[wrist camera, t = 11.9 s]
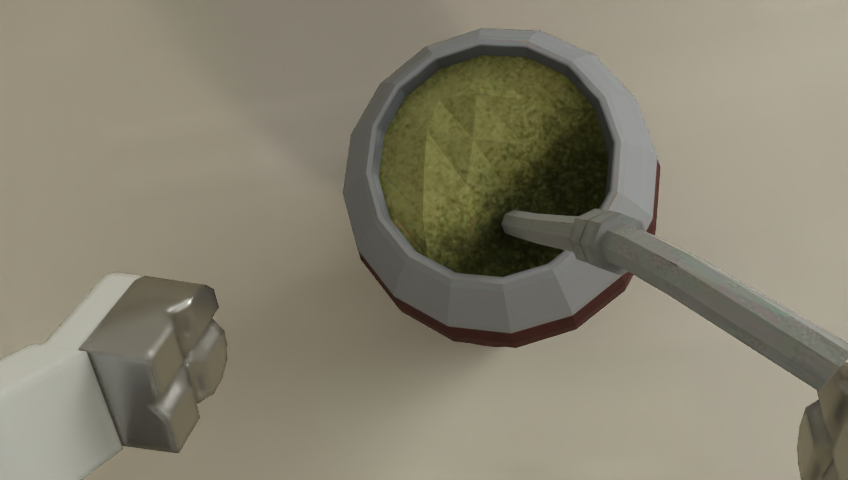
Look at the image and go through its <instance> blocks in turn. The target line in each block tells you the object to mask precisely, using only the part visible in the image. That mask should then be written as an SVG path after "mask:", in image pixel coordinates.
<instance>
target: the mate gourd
mask: <svg viewBox="0 0 848 480" xmlns="http://www.w3.org/2000/svg"><path fill="white" fill-rule="evenodd" d="M659 177H660V165H659V162H658V160H657V154H656V151H655V148H654V146H653V143H652V140H651V137H650V134H649V132H648V129H647V126H646V123H645V121H644V118H643V115H642V112H641V109H640V107H639V104H638V101H637V99H636V98H635V97H634V96H633V95H632V94H631V93H630V91H629V90H628V89H627V88H626V87H625V86H624V85H623V84H622V83H621V82H620V81H619V80H618V79H617V78H616V77H615V76H614V75H613V74H612V72H611V71H610V70H609V69H608V68H607V67H606V66H605V65H604V64H603V63H602V62H601V61H600V60H599V59H598V58H597V57H596V56H595V55H594V54H592V53H589V52H587V51H585V50H583V49H580V48H578V47H576V46H574V45H571V44H569V43H567V42H565V41H562V40H560V39H558V38H556V37H553V36H551V35H549V34H547V33H544V32H542V31H535V30H510V29H485V28H480V29H477V30H474V31H471V32H468V33H465V34H463V35H460V36H457V37H454V38H451V39H448V40H445V41H442V42H439V43H436V44H433V45H430V46H427V47H425V48H423V49H422V50H421V51H420V52H418V53H417V54H416V55H415V56H413V57H412V58H411V59H410V60H409V61H407V62H406V63H405V64H404V65H402V66H401V67H400V68H399V69H398V70H396V71H395V72H394V73H393V74H391V75H390V76H389V77H388V78H387V79H385V80H384V81H383V82H382V83H380V85H379V86H378V88H377V90H376V92H375V93H374V95H373V97H372V99H371V100H370V102H369V104H368V106H367V107H366V109H365V111H364V113H363V114H362V116H361V118H360V120H359V121H358V123H357V125H356V127H355V128H354V130H353V132H352V134H351V139H350V146H349V153H348V160H347V168H346V175H345V182H344V189H343V195H344V199H345V203H346V207H347V210H348V214H349V218H350V222H351V226H352V230H353V233H354V237H355V241H356V245H357V249H358V250H359V254H360V258H361V260H362V262H363V263H364V264H365V266H366V267H367V268H368V269H369V271H370V272H371V273H372V275H373V276H374V277H375V278H376V280H377V281H378V282H379V284H380V285H381V286H382V287H383V289H384V290H385V291H386V293H387V294H388V295H389V296H390V298H391V299H392V300H393V302H394V303H395V304H396V305H397V307H398V308H399V309H400V310H401V311H402V312H403V313H405V314H407V315H409V316H410V317H412V318H414V319H416V320H417V321H419V322H421V323H423V324H424V325H426V326H428V327H430V328H432V329H433V330H435V331H437V332H439V333H440V334H442V335H444V336H446V337H447V338H449V339H451V340H453V341H456V342H465V343H473V344H478V345H483V346H492V347H513V348H517V347H520V346H523V345H527V344H530V343H533V342H536V341H539V340H543V339H546V338H549V337H552V336H556V335H559V334H562V333H565V332H568V331H572V330H575V329H577V328H578V327H579V326H581V325H582V324H583V323H584V322H586V321H587V320H588V319H589V318H591V317H592V316H593V315H594V314H596V313H597V312H598V311H599V310H601V309H602V308H603V307H604V306H606V305H607V304H608V303H610V302H611V301H612V300H613V299H615V298H616V297H617V296H618V295H620V294H621V293H622V292H623V291H625V289H626V287H627V285H628V284H629V282H630V280H631V278H632V276H633V275H635V276H637V277H639V278H640V279H642V280H644V281H646V282H647V283H649V284H651V285H653V286H654V287H656V288H658V289H659V290H661V291H663V292H665V293H666V294H668V295H670V296H671V297H673V298H674V299H676V300H677V301H679V302H680V303H682V304H684V305H685V306H687V307H688V308H690V309H691V310H693V311H694V312H696V313H698V314H699V315H701V316H702V317H704V318H705V319H707V320H709V321H710V322H712V323H713V324H715V325H716V326H718V327H719V328H721V329H723V330H724V331H726V332H727V333H729V334H730V335H732V336H733V337H735V338H737V339H738V340H740V341H741V342H743V343H744V344H746V345H747V346H749V347H751V348H752V349H754V350H755V351H757V352H758V353H760V354H761V355H763V356H765V357H766V358H768V359H769V360H771V361H772V362H774V363H776V364H777V365H779V366H780V367H782V368H783V369H785V370H786V371H788V372H790V373H791V374H793V375H794V376H796V377H798V378H799V379H801V380H802V381H804V382H805V383H807V384H809V385H810V386H812V387H813V388H815V389H816V390H818V391H819V390H820V389H821V388H822V387H823V386H824V385H825V384H826V382H827V381H828V380H829V379H830V378H831V377H832V376H833V375H834V374H835V372H836V371H837V370H838V369H839V368H840V367H841V366H842V365H843V363H844V362H845V361H846V360H847V359H848V343H846V342H845V341H843V340H841V339H840V338H838V337H836V336H834V335H833V334H831V333H829V332H828V331H826V330H824V329H823V328H821V327H819V326H818V325H816V324H814V323H812V322H811V321H809V320H807V319H805V318H804V317H802V316H800V315H798V314H797V313H795V312H793V311H791V310H790V309H788V308H786V307H784V306H783V305H781V304H779V303H777V302H776V301H774V300H772V299H770V298H769V297H767V296H765V295H763V294H762V293H760V292H758V291H756V290H755V289H753V288H751V287H750V286H748V285H746V284H744V283H743V282H741V281H739V280H737V279H736V278H734V277H732V276H730V275H729V274H727V273H725V272H723V271H722V270H720V269H718V268H716V267H715V266H713V265H711V264H709V263H708V262H706V261H704V260H702V259H701V258H699V257H697V256H695V255H693V254H691V253H689V252H687V251H685V250H683V249H681V248H679V247H677V246H675V245H673V244H671V243H669V242H667V241H665V240H663V239H661V238H658V237H656V236H655V230H656V218H657V204H658V191H659Z"/></svg>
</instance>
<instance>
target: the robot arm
mask: <svg viewBox="0 0 848 480" xmlns="http://www.w3.org/2000/svg"><path fill="white" fill-rule="evenodd" d="M218 308H219V306H218V302H217V299H216V295H215V292H214V289H213V288H211V287H209V286H207V285H204V284H197V283H190V282H183V281H176V280H169V279H163V278H156V277H149V276H144V277H143V276H137V275H130V274H124V273H117V272H113V273H110V274H107V275H105V276H103V277H102V278H101V279H100V280H99V282H98V283H97V284H96V285H95V286H94V287H93V288H92V289H91V291H90V292H89V293H88V294H87V295H86V296H85V297H84V298H83V300H82V301H81V302H80V303H79V304H78V305H77V306H76V307H75V309H74V310H73V311H72V312H71V313H70V314H69V315H68V316H67V318H66V319H65V320H64V321H63V322H62V323H61V324H60V325H59V327H58V328H57V329H56V330H55V331H54V332H53V333H52V334H51V336H50V337H49V338H48V339H47V340H46V341H45V342H44V343H43V345H38V344H31V345H29V346H27V347H24V348H22V349H20V350H18V351H16V352H14V353H12V354H10V355H7V356H5V357H3V358H1V359H0V480H81V479H83V478H84V477H85V476H87V475H88V474H90V473H91V472H92V471H94V470H95V469H96V468H98V467H99V466H100V465H102V464H103V463H105V462H106V461H107V460H109V459H110V458H111V457H113V456H114V455H115V454H117V453H118V452H120V451H121V450H122V449H123V447H122V446H128V447H135V448H142V449H150V450H157V451H164V452H172V453H179V452H180V450H181V449H182V447H183V445H184V444H185V442H186V440H187V439H188V437H189V435H190V434H191V432H192V430H193V428H194V427H195V425H196V423H197V422H198V420H199V418H200V415H199V411H198V407H197V404H198V403H199V402H201V401H203V400H204V399H206V398H208V397H209V396H211V395H213V394H214V392H215V391H216V389H217V387H218V385H219V383H220V382H221V380H222V377H223V373H224V370H225V366H226V362H227V341H226V336H225V331H224V330H223V329H222V328H221V327H220V326H219V325H218V324H217V323H216V322H215V321H214V319H213V318H212V317H213V316H214V314H215V312H216V311H217V309H218ZM817 393H818V397H819V400H818V401H816V402H814V403H813V404H811V405H809V406H808V407H806V408H805V411H804V415H803V418H802V421H801V424H800V427H799V436H798V445H797V452H798V466H799V471H800V476H801V480H848V362H844V363H843V365H842V366H841V367H840V368H839V369H838V370H837V371H836V372H835V374H834V375H833V376H832V377H831V378H830V379H829V380H828V381H827V382H826V384H825V385H824V386H823V387H822V388H821V389H820V390H819V391H818V390H817Z"/></svg>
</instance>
